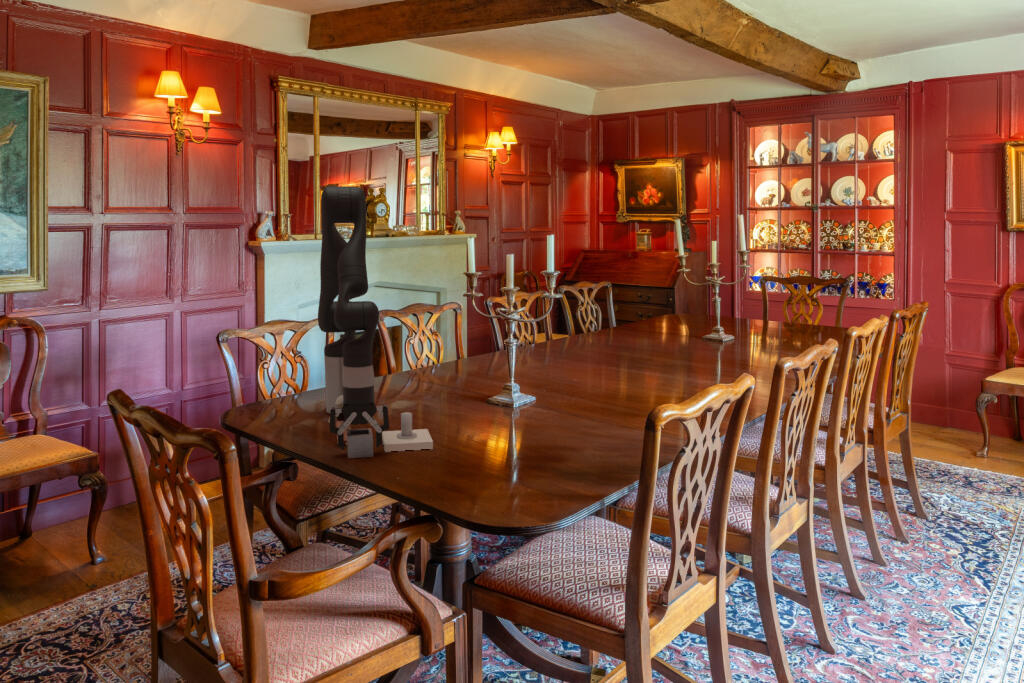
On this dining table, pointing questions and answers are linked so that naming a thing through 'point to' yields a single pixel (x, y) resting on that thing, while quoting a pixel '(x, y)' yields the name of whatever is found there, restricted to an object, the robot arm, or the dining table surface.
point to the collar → (360, 443)
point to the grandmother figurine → (341, 418)
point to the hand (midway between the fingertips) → (360, 447)
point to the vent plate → (406, 437)
